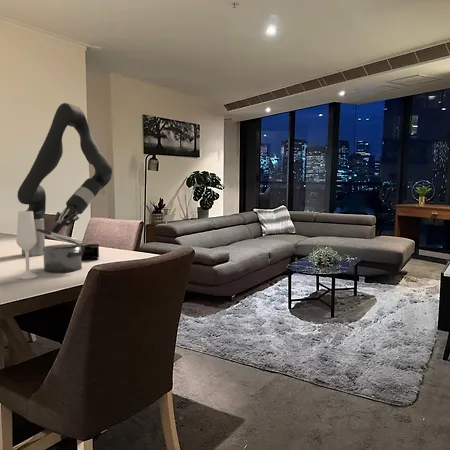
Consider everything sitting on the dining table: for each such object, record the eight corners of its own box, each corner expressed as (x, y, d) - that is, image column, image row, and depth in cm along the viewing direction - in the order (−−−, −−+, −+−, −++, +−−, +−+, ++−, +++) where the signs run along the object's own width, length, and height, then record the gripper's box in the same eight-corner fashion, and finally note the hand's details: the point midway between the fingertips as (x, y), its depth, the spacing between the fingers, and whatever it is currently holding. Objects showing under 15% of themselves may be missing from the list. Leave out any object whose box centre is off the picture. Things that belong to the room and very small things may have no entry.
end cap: (98, 257, 187) (98, 243, 187) (99, 260, 181) (99, 245, 180) (75, 258, 184) (75, 244, 183) (76, 261, 177) (75, 246, 176)
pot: (68, 262, 174) (67, 242, 173) (96, 268, 162) (96, 246, 161) (33, 268, 161) (32, 246, 160) (61, 275, 150) (60, 251, 149)
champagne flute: (30, 273, 152) (28, 210, 150) (41, 276, 149) (39, 211, 146) (13, 277, 146) (11, 211, 144) (24, 279, 143) (22, 212, 141)
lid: (68, 243, 170) (69, 240, 170) (89, 246, 162) (89, 243, 162) (28, 230, 156) (29, 227, 156) (48, 233, 147) (49, 230, 148)
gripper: (65, 193, 167) (37, 224, 158) (84, 194, 159) (56, 227, 150) (76, 205, 172) (50, 236, 163) (96, 207, 164) (69, 240, 155)
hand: (53, 232), depth 157 cm, fingers closed
